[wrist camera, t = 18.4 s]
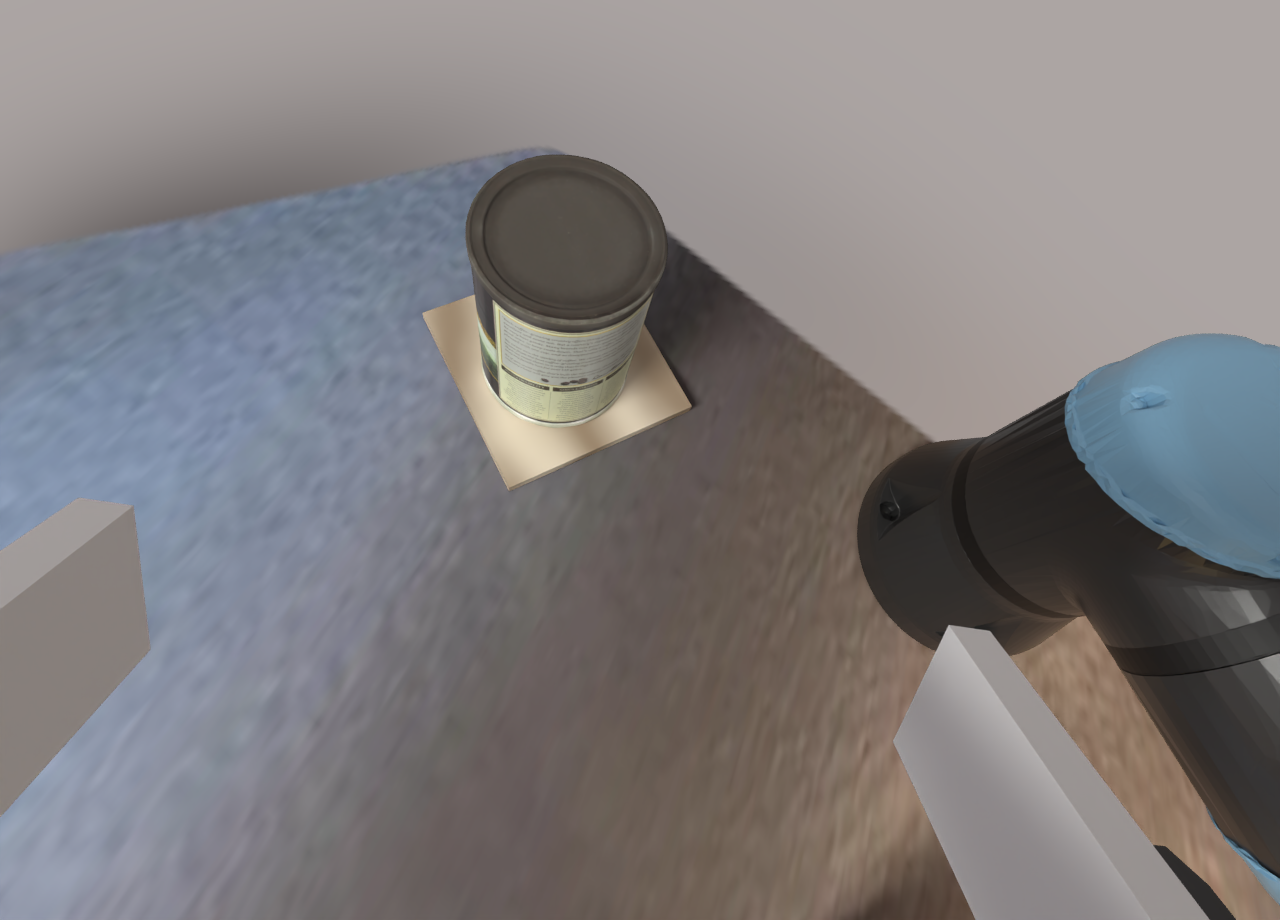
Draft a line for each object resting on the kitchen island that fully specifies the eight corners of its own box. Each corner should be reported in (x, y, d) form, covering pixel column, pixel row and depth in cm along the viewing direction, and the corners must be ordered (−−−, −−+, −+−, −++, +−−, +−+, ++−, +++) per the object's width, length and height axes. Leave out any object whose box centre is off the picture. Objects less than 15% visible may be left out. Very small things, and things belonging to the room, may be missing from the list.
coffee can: (448, 351, 47) (421, 216, 34) (561, 272, 51) (576, 122, 38) (549, 460, 46) (561, 362, 33) (658, 371, 49) (708, 250, 36)
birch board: (600, 256, 53) (601, 250, 52) (689, 410, 50) (691, 406, 49) (424, 318, 49) (422, 312, 48) (509, 491, 46) (509, 487, 45)
